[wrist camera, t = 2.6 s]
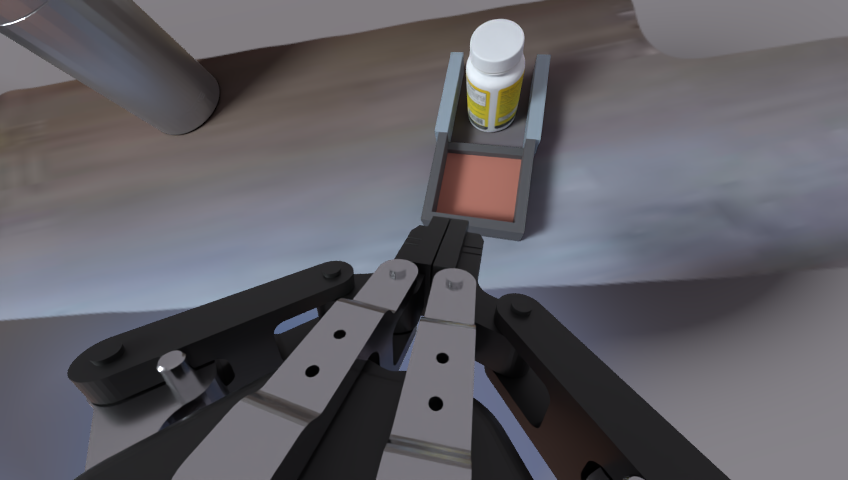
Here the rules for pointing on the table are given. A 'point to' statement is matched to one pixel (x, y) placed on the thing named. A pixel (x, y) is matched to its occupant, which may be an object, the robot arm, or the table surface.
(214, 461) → the robot arm
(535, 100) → the trough
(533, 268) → the table surface
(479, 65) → the supplement bottle
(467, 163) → the trap bin
